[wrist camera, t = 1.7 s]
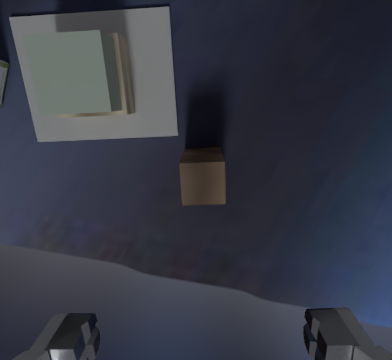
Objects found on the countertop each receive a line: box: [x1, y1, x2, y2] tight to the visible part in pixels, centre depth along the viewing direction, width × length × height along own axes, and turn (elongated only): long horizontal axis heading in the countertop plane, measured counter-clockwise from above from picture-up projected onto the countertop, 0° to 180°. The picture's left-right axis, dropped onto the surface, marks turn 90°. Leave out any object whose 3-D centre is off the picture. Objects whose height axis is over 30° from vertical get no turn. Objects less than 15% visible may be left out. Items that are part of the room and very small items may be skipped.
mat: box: [9, 7, 178, 142], centre depth 31 cm, size 18×14×1 cm
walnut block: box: [179, 147, 226, 205], centre depth 30 cm, size 4×4×8 cm
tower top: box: [23, 30, 122, 115], centre depth 26 cm, size 7×7×4 cm
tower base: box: [56, 33, 135, 118], centre depth 29 cm, size 8×8×4 cm
